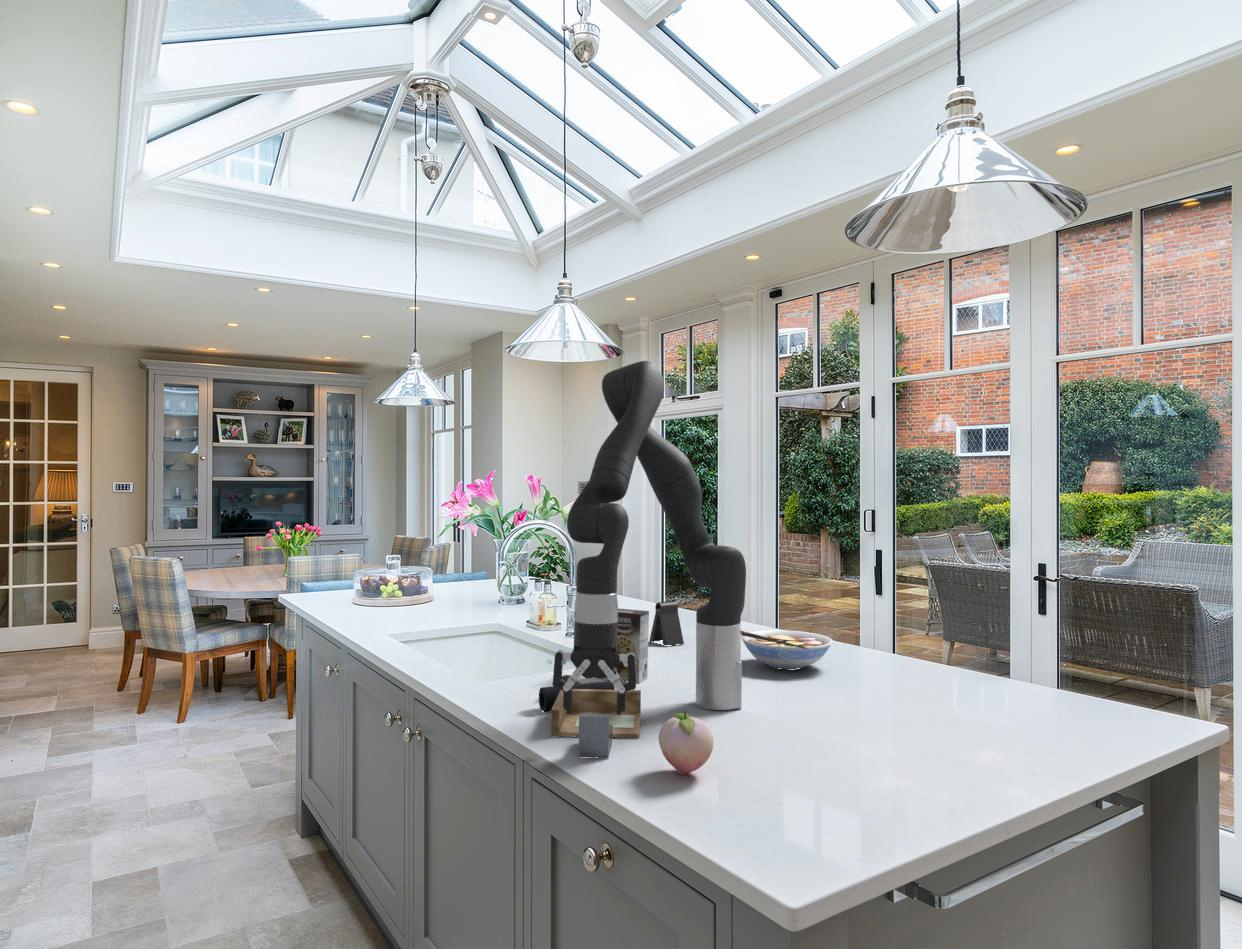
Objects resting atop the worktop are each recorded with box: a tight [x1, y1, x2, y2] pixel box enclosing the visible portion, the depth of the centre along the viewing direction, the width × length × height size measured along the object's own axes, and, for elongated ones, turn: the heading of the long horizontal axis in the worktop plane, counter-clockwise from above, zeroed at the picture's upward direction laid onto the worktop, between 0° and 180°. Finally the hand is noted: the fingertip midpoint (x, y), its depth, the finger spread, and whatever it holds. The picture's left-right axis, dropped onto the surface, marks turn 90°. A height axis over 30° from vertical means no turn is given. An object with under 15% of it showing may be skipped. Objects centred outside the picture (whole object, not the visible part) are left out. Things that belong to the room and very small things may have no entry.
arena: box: [550, 689, 642, 739], centre depth 150 cm, size 16×15×5 cm
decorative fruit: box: [658, 710, 714, 775], centre depth 125 cm, size 9×8×10 cm
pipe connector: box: [538, 674, 616, 713], centre depth 165 cm, size 12×5×15 cm
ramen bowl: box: [741, 629, 833, 669], centre depth 200 cm, size 25×23×8 cm
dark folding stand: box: [649, 600, 685, 645], centre depth 229 cm, size 9×6×12 cm, turn 31°
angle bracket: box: [578, 713, 614, 759], centre depth 136 cm, size 5×8×7 cm, turn 176°
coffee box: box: [603, 608, 650, 684], centre depth 186 cm, size 9×6×16 cm
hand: (594, 713), depth 135 cm, fingers open, 8 cm apart
